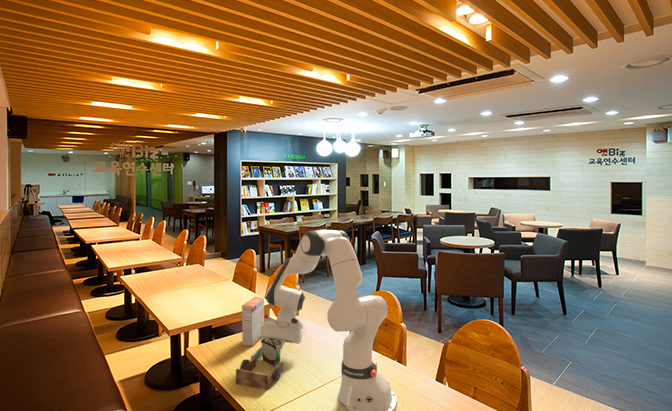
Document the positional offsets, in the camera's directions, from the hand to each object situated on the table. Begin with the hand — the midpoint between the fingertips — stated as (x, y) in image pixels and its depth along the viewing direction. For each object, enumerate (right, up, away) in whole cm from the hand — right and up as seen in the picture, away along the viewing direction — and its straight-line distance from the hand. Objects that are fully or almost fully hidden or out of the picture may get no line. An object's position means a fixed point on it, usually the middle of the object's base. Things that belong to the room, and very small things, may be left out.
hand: (276, 349), depth 166 cm
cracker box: (-15, -3, +20) cm, 25 cm away
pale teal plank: (-8, -4, +2) cm, 10 cm away
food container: (-1, -5, -1) cm, 5 cm away
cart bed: (-4, -6, -14) cm, 16 cm away
